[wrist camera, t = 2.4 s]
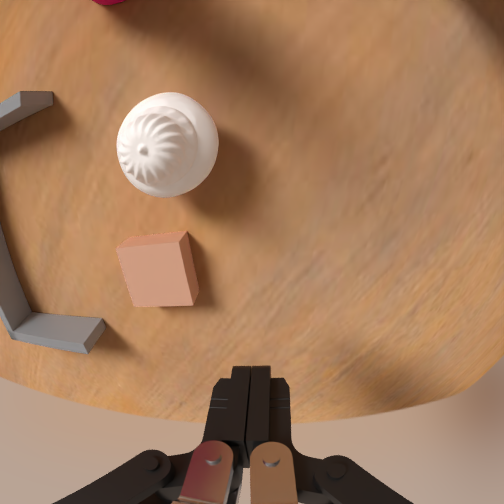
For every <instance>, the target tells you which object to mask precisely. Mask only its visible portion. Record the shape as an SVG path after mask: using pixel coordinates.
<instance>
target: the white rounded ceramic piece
mask: <svg viewBox="0 0 504 504" xmlns="http://www.w3.org/2000/svg"><path fill="white" fill-rule="evenodd" d="M218 146H219V139H218V132H217V128H216V125H215V123H214V121H213V119H212V117H211V116H210V114H209V113H208V112H207V111H206V109H205V108H204V107H203V106H202V105H200V104H199V103H198V102H197V101H195V100H194V99H192V98H190V97H189V96H186V95H184V94H180V93H175V92H167V93H161V94H157V95H154V96H151V97H149V98H147V99H145V100H143V101H141V102H140V103H139V104H137V105H136V106H135V107H134V108H133V109H132V110H131V111H130V112H129V114H128V115H127V116H126V118H125V119H124V121H123V123H122V125H121V127H120V130H119V133H118V137H117V154H118V159H119V162H120V165H121V168H122V170H123V172H124V174H125V175H126V177H127V178H128V180H129V181H130V182H131V183H132V184H133V185H134V186H135V187H136V188H138V189H139V190H141V191H142V192H144V193H146V194H148V195H151V196H155V197H161V198H167V197H174V196H178V195H181V194H184V193H186V192H188V191H190V190H192V189H194V188H195V187H197V186H198V185H199V184H201V183H202V182H203V181H204V180H205V178H206V177H207V176H208V175H209V173H210V172H211V170H212V168H213V166H214V164H215V161H216V158H217V154H218Z"/></svg>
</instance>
